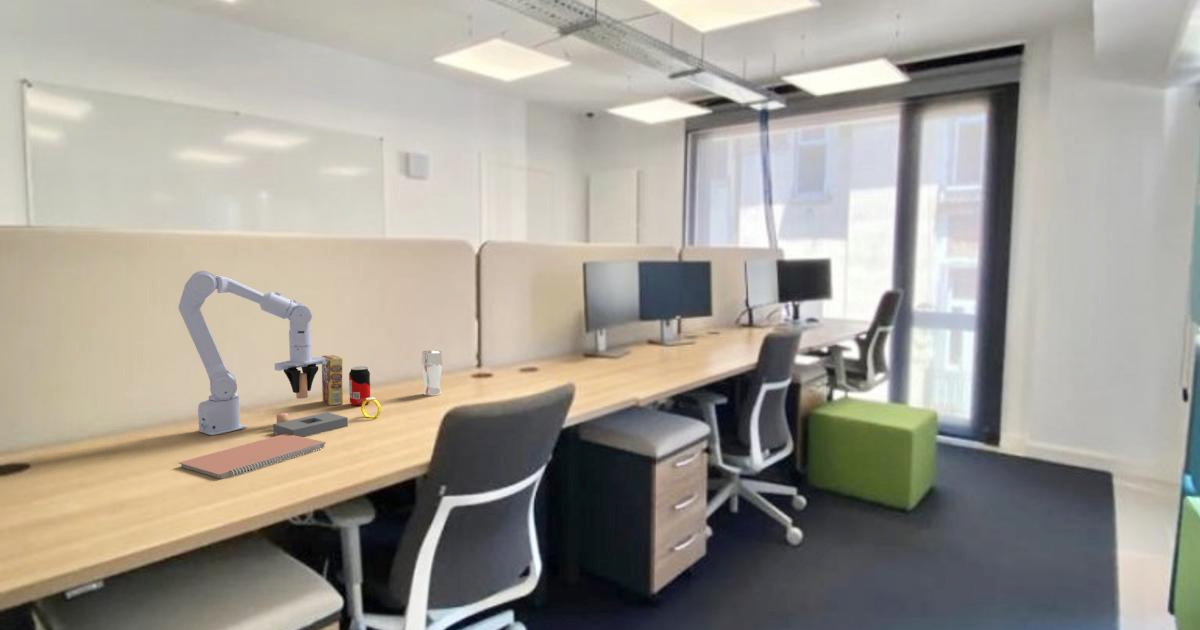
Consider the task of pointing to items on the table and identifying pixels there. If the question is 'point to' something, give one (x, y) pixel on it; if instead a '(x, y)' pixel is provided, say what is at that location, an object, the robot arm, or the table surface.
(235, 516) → the table surface
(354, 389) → the beverage can
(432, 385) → the beer glass
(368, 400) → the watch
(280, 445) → the notebook
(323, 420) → the hole board
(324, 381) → the candy box
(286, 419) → the short pin
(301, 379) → the long pin
